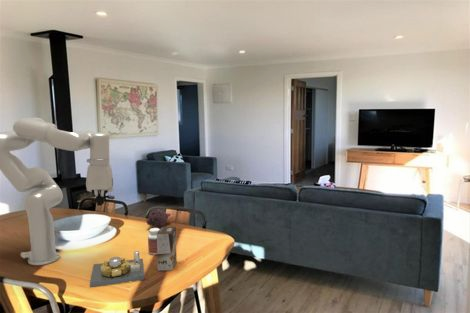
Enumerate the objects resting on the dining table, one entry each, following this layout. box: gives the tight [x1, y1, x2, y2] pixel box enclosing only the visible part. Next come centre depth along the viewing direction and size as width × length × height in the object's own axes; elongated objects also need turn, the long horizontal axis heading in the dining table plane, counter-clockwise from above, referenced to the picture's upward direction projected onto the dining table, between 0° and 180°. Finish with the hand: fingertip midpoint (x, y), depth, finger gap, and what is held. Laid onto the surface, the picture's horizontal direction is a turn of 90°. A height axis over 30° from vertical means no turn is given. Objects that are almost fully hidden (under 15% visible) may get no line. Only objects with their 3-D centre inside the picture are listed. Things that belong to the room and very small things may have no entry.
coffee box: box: [156, 226, 178, 271], centre depth 153 cm, size 9×6×16 cm
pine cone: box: [146, 208, 171, 227], centre depth 203 cm, size 18×10×10 cm, turn 150°
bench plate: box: [89, 256, 146, 288], centre depth 146 cm, size 20×16×7 cm
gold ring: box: [101, 250, 141, 277], centre depth 146 cm, size 15×11×6 cm
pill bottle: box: [147, 227, 161, 255], centre depth 168 cm, size 6×6×11 cm
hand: (100, 204), depth 153 cm, fingers closed
